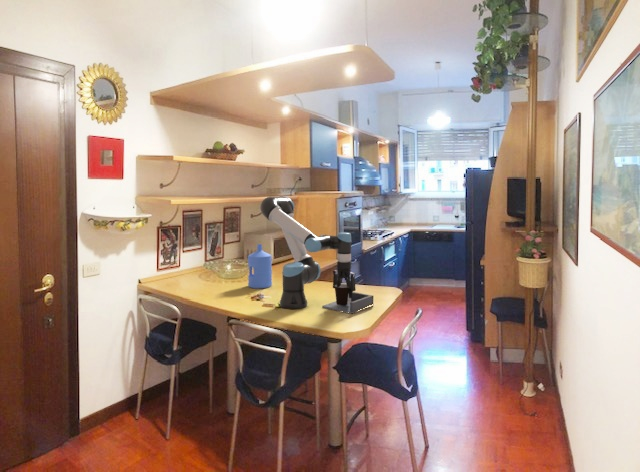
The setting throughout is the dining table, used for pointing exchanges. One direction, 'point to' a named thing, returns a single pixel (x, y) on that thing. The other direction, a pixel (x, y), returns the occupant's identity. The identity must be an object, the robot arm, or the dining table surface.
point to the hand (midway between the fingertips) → (343, 302)
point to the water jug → (260, 269)
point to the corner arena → (352, 303)
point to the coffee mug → (341, 294)
